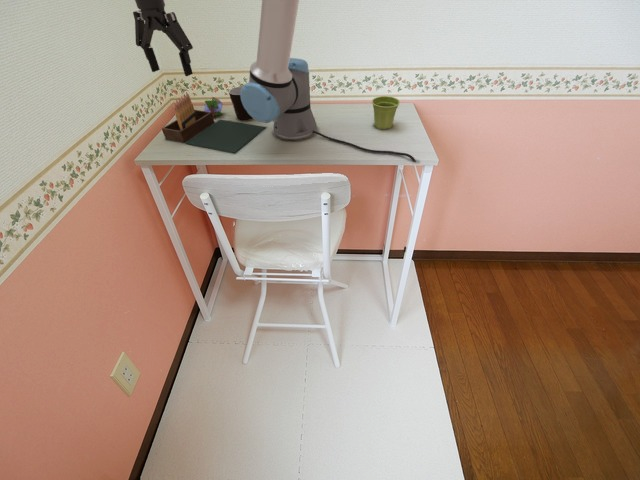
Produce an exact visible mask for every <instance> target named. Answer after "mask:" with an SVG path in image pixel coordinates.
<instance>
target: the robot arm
mask: <svg viewBox="0 0 640 480" xmlns="http://www.w3.org/2000/svg"><path fill="white" fill-rule="evenodd" d="M134 2H135V4H136V7H137V9H138V10H135V11H133V12H132V14H133V15H132V16H133V19H134V31H135V35H134V37H135V45H136V46H137V47H140V48H141V49H142V50H143V52H144V55H145V58H146V60H147V61H148V64H149V67H150V69H151V72H152V73H156V72H158V71H160V70H161V69H160V66H159V63H158V60H157V56H156V53H155V51H154V48H153V47H152V45H151V43H152V40H153V35H154V31H158V32H162V33H163V34H165V35H166V37H168V39H170V41H171V42H172V44H173V45H174V46H175V47H176V48H177V49H178V51H179V52H178V56H179V59H180V62H181V67H182V70H183V74H184V76H185V77H189V76H191V75H193V70H192V66H191V64H192V60H191V57H190V53H189V51H192V50H193V48H194V45H192V43H191V41H190V40H189V38H188V36H187V35H186V33H185V31H184V29H183V28H182V26H181V24H180V23H179V20H178V19H177V16H176V15H177V14H176V13H175V12H174V11H172V12H166V10H165V7H166V3H165V0H134ZM299 3H300V0H261V7H260V8H261V9H260V18H259V31H258V41H257V42H258V43H257V51H256V61H254V62H252V63H251V65H250V66H249V78H248V82H246V83H245V84H244V85H243V86H244V87H243V88H242V90H241V101H242V104H243V107H244V108H245V109H246V111H247V113H248V114H249V115H250V116H251V117H252V118H253V120H255V121H257V122H259V123H262V124H263V123H265V124H268V123H271V122H273V125H272V126H273V127H272V129H273V135H274V136H275V137H276V138H278V139H279V140H283V141H289V142H296V141H297V142H298V141H304V140H306V139H309V138H311V137H313V136H314V135H318V136H320V137H322V138H324V139H327V140H330V141H333V142H336V143H340V144H344V145H347V146H350V147H353V148H356V149H357V150H358V149H359V150H360V151H365V152H368V153H374V154H389V155H390V154H391V155H395V156H403V157H408V158H409V159H411V161H412V162H413V163H416V162H417V160H416V158H415V157H414V156H413V155H411V154H409V153H406V152H398V151H392V150H378V149H377V150H376V149H370V148H366V147H362V146H359V145H356V144H354V143H351V142H348V141H346V140H341V139H337V138H334V137H330V136H327V135H325V134H323V133H321V132H319V131H318V125H317V121H316V119H315V116H314V113H313V111H312V108H311V87H310V71H309V63H308V62H307V61H306V60H305V59H302V58H297V57H291V53H292V46H293V41H294V34H295V29H296V21H297V16H298V9H299ZM406 251H407V246H404V247H403V253H406Z"/></svg>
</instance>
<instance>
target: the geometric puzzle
mask: <svg viewBox="0 0 640 480" xmlns="http://www.w3.org/2000/svg"><path fill="white" fill-rule="evenodd" d="M223 105H224V104H223V103H222V101H221V100H220V99H219V98H217V97H214V96H212V97H211V100H207V99H206V100H204V106H203V107H204V108H203V111H207V112H212V115H213V119H215V118H216V117H217V115H222V111H223V110H222V109H223ZM215 115H216V116H215Z"/></svg>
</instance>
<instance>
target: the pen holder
mask: <svg viewBox="0 0 640 480" xmlns="http://www.w3.org/2000/svg"><path fill="white" fill-rule="evenodd" d="M194 110H195V111H196V114H197V117H198V120H197V121H196V122H194V123H192V124H191V125H189V126H188V127H186V128H184V129H183V130H181V131H180V130H179V127H178V124H177V123H178V121H177V119H175V120H173V121H171V122H170V123H168V124H167V125H165V126H163V127H162V128H161V130H162V133H163V136H164V138H165V140H166V141H171V142H177V143H182V144H186V142H187V141H189V140H190V139H192V138H193V137H195V136H196V135H198V134H199V133H201V132H202V131H204V130H205V129H207V128H208V127H210V126H211V125H213V124H214V123H215V118H213V115H212V112H207V111H204V110H200V109H194Z"/></svg>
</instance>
